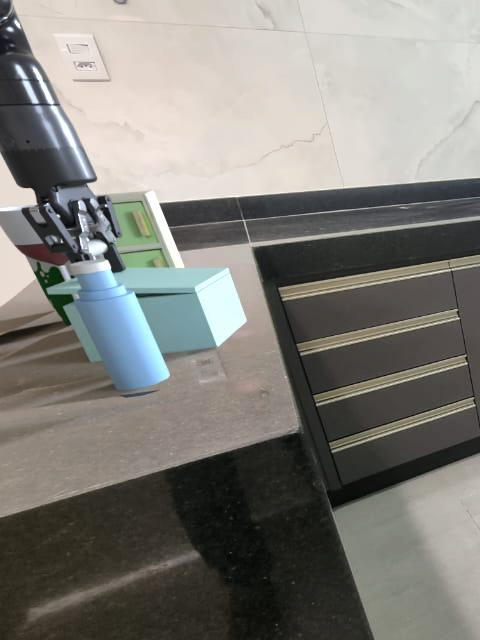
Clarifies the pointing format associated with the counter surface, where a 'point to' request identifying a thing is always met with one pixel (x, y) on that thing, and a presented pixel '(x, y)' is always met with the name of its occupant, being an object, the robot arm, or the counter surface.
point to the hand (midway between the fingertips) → (105, 275)
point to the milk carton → (50, 277)
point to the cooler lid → (149, 277)
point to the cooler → (180, 318)
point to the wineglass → (30, 240)
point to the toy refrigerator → (143, 232)
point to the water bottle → (118, 328)
